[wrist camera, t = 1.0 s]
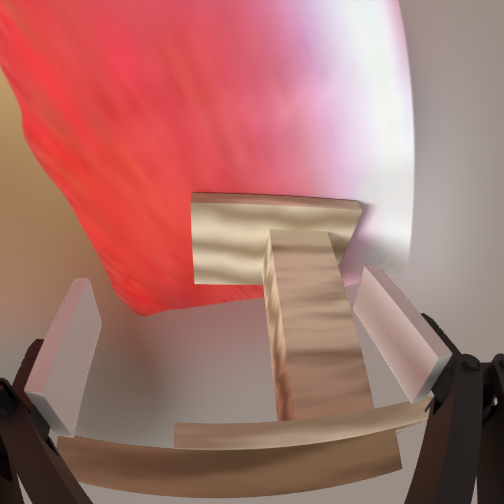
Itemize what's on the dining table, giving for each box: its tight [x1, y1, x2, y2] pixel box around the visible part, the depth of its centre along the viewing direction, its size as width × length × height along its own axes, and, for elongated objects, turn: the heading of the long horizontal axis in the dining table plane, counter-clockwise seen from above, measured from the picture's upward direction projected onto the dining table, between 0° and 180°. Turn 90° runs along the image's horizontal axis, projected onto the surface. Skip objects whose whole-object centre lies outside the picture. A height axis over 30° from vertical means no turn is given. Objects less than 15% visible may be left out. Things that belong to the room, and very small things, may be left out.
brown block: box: [57, 428, 402, 498], centre depth 20 cm, size 4×28×4 cm, turn 84°
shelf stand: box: [174, 193, 432, 450], centre depth 36 cm, size 16×22×29 cm
